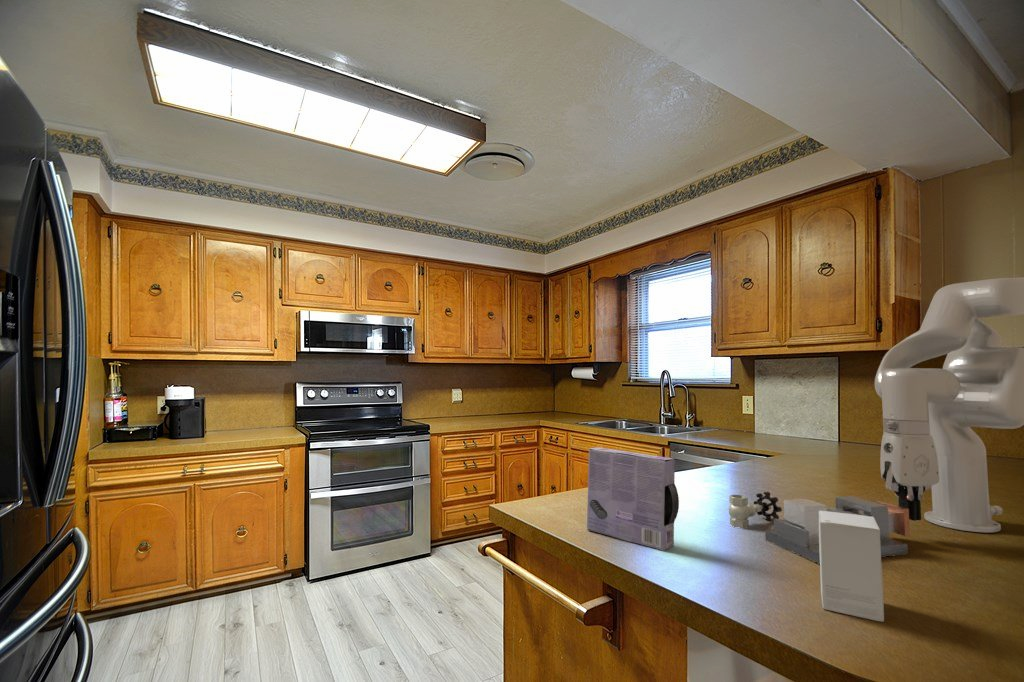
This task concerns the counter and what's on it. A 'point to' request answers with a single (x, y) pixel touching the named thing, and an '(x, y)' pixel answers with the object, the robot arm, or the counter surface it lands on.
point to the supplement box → (851, 565)
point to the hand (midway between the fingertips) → (910, 518)
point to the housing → (804, 516)
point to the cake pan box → (632, 497)
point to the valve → (751, 509)
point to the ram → (896, 517)
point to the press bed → (814, 549)
